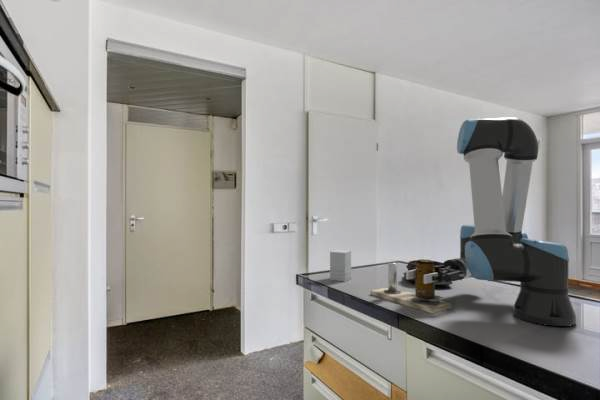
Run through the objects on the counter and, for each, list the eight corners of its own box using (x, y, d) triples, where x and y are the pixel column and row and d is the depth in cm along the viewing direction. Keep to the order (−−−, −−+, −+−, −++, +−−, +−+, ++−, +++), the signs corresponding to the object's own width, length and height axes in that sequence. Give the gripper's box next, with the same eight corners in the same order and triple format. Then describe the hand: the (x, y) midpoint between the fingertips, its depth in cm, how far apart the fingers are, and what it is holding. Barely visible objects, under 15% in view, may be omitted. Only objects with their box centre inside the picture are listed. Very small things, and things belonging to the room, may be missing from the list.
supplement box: (351, 278, 153) (351, 250, 153) (344, 282, 147) (344, 252, 147) (336, 276, 157) (337, 249, 157) (329, 279, 151) (329, 251, 151)
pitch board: (450, 307, 111) (450, 302, 111) (432, 313, 106) (432, 308, 106) (388, 290, 133) (388, 286, 133) (370, 294, 127) (370, 289, 127)
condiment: (421, 292, 118) (421, 258, 118) (445, 298, 112) (445, 261, 112) (409, 296, 114) (409, 260, 114) (433, 302, 107) (433, 264, 107)
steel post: (398, 296, 125) (398, 263, 125) (392, 297, 123) (392, 264, 123) (391, 294, 127) (392, 262, 127) (386, 295, 125) (386, 263, 125)
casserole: (393, 276, 158) (393, 258, 158) (430, 275, 161) (430, 257, 162) (421, 290, 134) (421, 269, 134) (464, 288, 137) (464, 267, 137)
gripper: (482, 285, 116) (442, 295, 103) (433, 274, 131) (392, 282, 118) (482, 263, 116) (442, 270, 103) (433, 255, 131) (392, 261, 118)
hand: (415, 277), depth 111 cm, fingers closed on condiment, 6 cm apart
